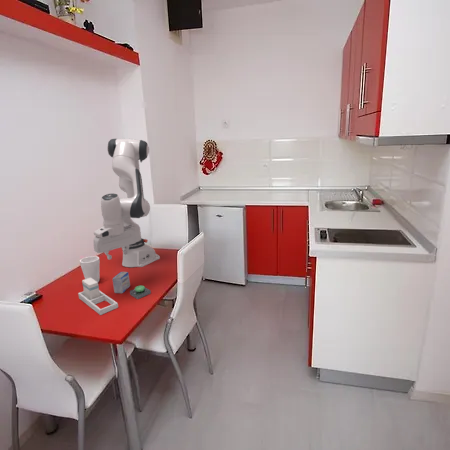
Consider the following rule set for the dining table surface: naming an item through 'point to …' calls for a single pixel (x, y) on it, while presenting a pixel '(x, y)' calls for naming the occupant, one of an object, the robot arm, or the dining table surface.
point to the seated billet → (91, 288)
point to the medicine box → (121, 282)
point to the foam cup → (90, 267)
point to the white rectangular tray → (97, 300)
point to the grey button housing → (141, 294)
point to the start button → (139, 288)
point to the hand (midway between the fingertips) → (118, 256)
